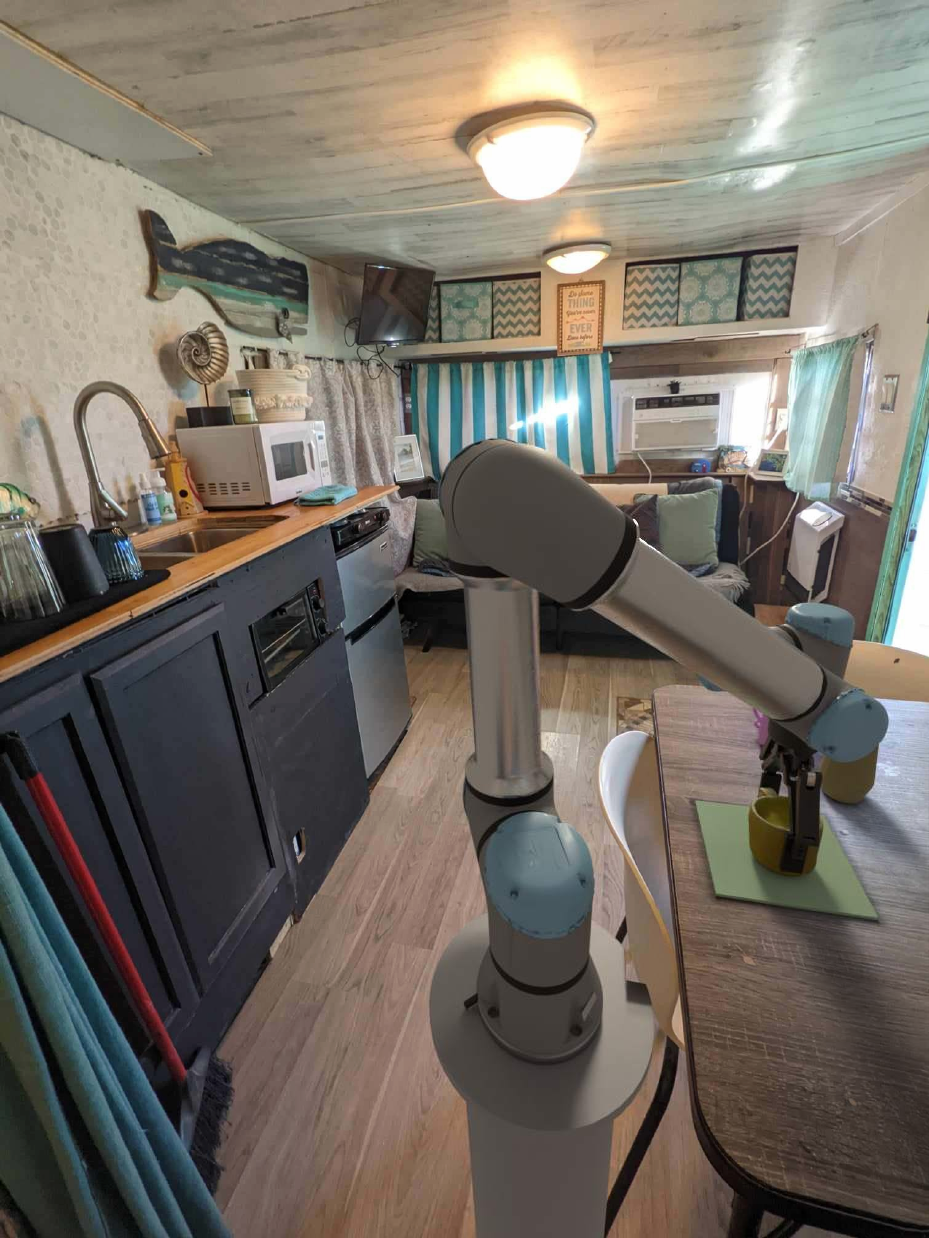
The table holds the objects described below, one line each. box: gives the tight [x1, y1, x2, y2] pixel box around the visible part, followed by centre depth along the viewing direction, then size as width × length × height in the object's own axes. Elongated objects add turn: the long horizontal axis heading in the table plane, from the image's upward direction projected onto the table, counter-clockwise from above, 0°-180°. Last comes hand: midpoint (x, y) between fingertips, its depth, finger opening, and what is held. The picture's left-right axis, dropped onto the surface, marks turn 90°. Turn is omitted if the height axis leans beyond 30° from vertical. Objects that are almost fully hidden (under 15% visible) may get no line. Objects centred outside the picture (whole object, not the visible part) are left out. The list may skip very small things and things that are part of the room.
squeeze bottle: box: [817, 743, 880, 804], centre depth 92 cm, size 8×8×18 cm
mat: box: [694, 800, 879, 921], centre depth 84 cm, size 20×20×1 cm
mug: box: [748, 787, 823, 876], centre depth 81 cm, size 12×10×10 cm
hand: (777, 836), depth 83 cm, fingers closed on mug, 12 cm apart
